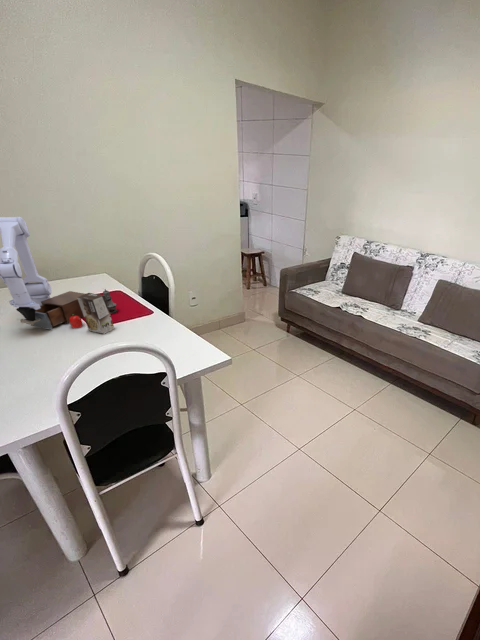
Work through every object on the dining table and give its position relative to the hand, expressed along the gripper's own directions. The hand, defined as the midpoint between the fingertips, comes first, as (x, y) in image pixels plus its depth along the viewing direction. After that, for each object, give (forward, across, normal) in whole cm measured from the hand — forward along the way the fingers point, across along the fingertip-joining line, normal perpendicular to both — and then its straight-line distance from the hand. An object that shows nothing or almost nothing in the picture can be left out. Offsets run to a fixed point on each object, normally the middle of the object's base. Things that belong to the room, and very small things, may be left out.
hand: (32, 322), depth 143 cm
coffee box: (+5, +25, +11) cm, 28 cm away
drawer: (+4, 0, +7) cm, 8 cm away
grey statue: (+5, +14, +29) cm, 33 cm away
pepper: (+4, +12, +10) cm, 16 cm away
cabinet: (+4, 0, +19) cm, 19 cm away
